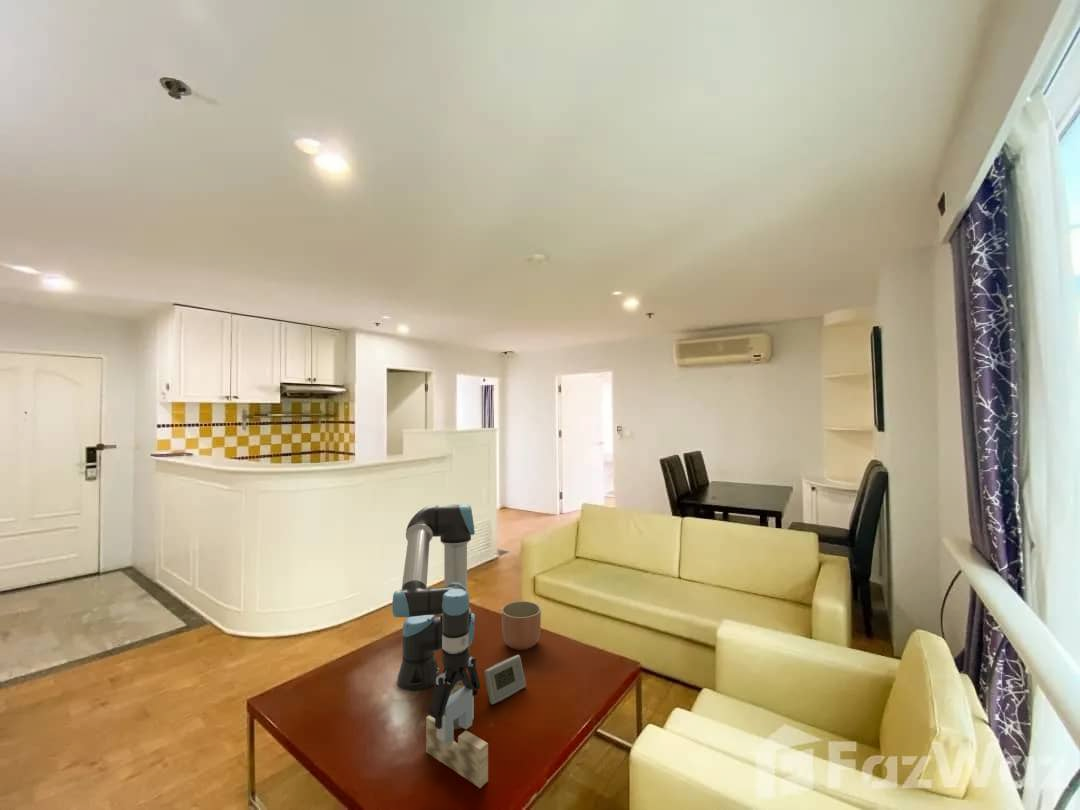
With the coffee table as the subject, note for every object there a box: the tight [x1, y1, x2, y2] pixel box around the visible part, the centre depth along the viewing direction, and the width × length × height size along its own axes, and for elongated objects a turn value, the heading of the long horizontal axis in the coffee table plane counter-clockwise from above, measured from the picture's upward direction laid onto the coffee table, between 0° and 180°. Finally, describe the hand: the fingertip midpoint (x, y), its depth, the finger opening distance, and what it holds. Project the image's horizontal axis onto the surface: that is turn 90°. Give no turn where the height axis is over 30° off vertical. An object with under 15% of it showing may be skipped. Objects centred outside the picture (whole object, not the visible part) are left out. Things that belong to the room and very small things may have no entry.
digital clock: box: [483, 654, 527, 705], centre depth 161 cm, size 16×9×11 cm, turn 121°
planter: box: [501, 600, 542, 651], centre depth 195 cm, size 17×17×15 cm
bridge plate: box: [439, 686, 473, 744], centre depth 127 cm, size 3×10×10 cm, turn 143°
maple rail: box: [425, 714, 489, 789], centre depth 127 cm, size 22×3×10 cm, turn 53°
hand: (455, 727), depth 127 cm, fingers closed on bridge plate, 10 cm apart
